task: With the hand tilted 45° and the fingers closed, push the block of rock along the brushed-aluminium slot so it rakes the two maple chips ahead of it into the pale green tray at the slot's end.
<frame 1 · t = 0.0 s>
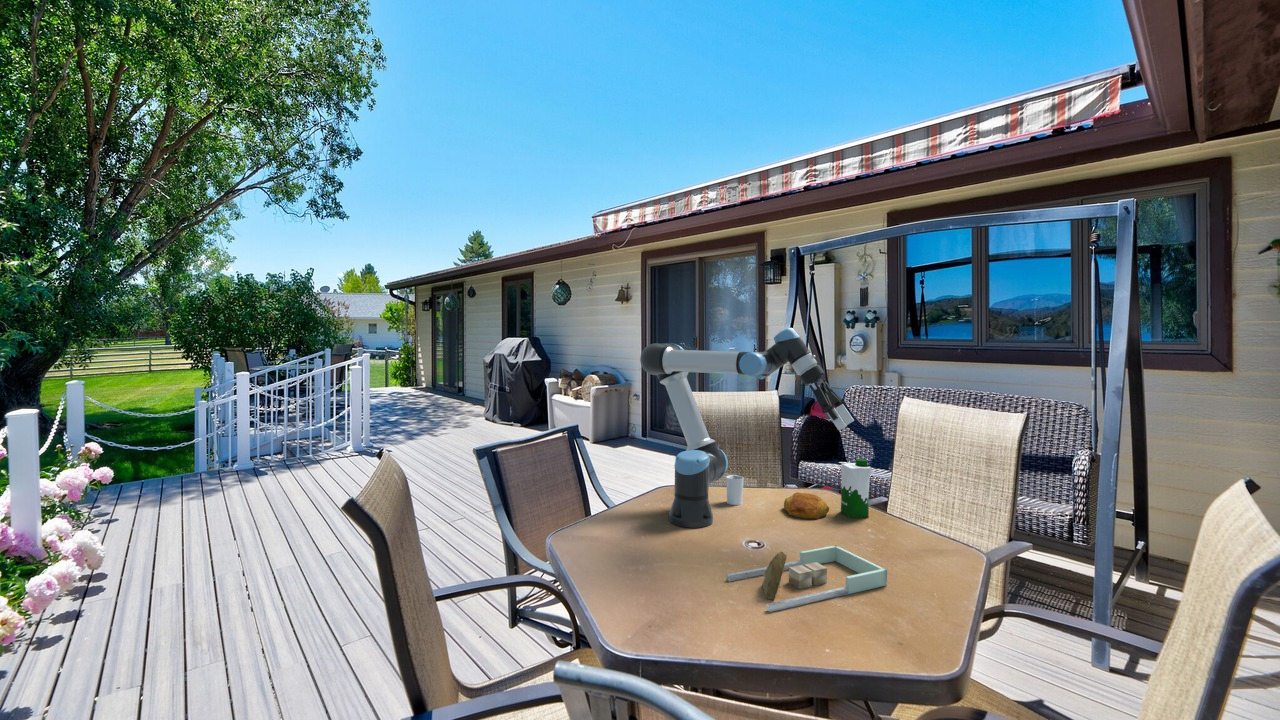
hand: (846, 425, 174), 36 cm above the table, tool tilted 35°, fingers open, 13 cm apart
tray pen: (840, 575, 146), on the table
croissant: (804, 514, 198), on the table
slot rails: (786, 586, 138), on the table
milk carton: (854, 515, 198), on the table
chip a: (800, 584, 140), on the table
rock: (769, 591, 136), on the table
chip b: (815, 581, 142), on the table
drinking glass: (734, 503, 209), on the table
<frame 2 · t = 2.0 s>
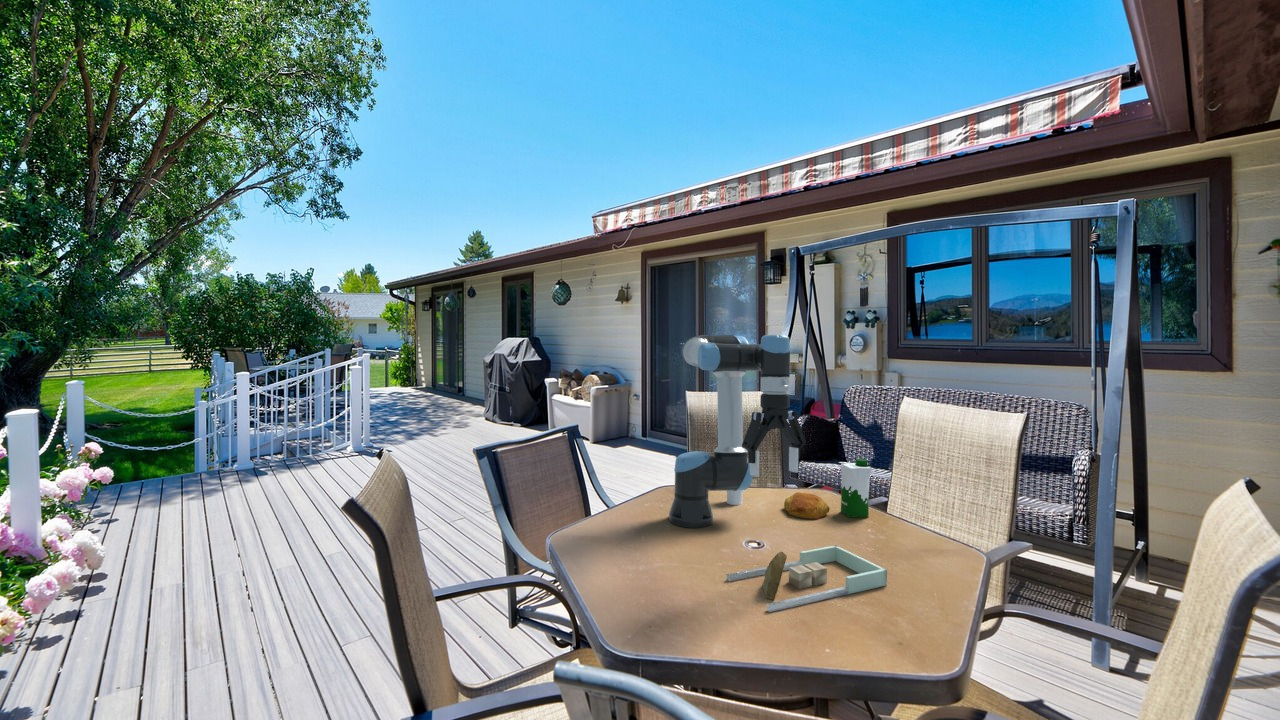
hand: (774, 473, 144), 27 cm above the table, tool pointing down, fingers open, 13 cm apart
nothing on the table moved.
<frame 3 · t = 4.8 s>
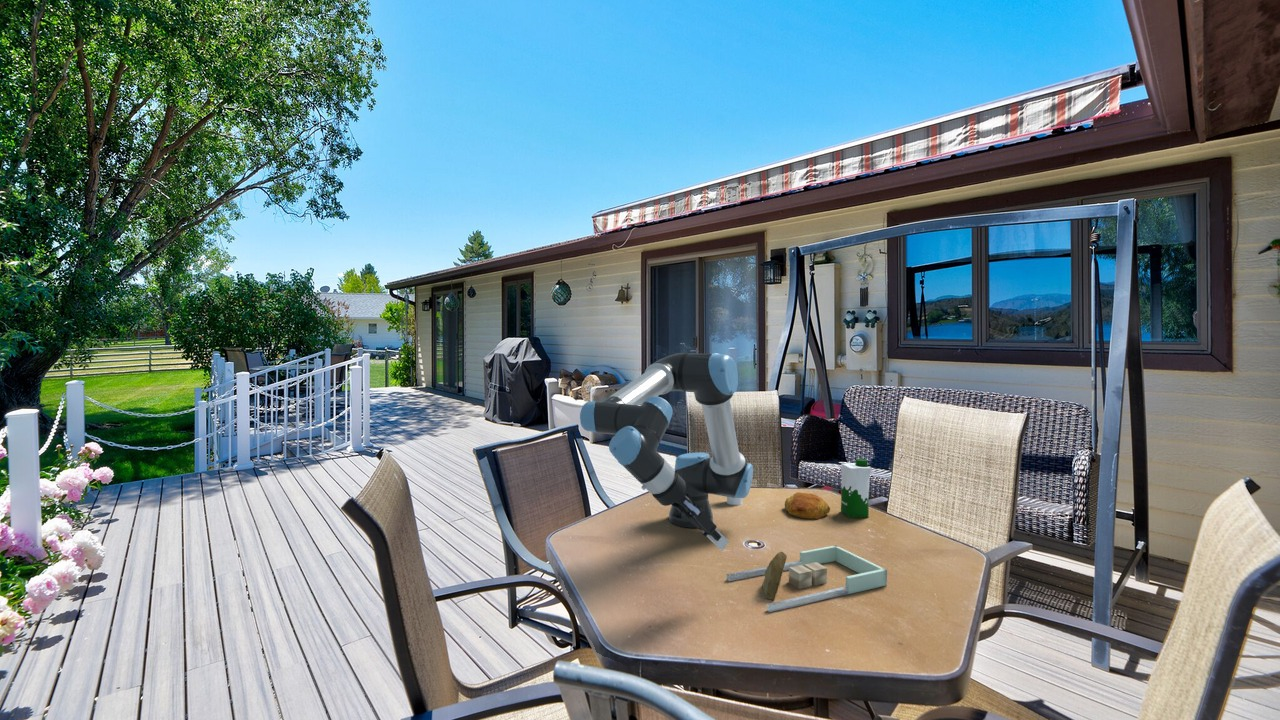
hand: (724, 545, 130), 13 cm above the table, tool tilted 45°, fingers closed
nothing on the table moved.
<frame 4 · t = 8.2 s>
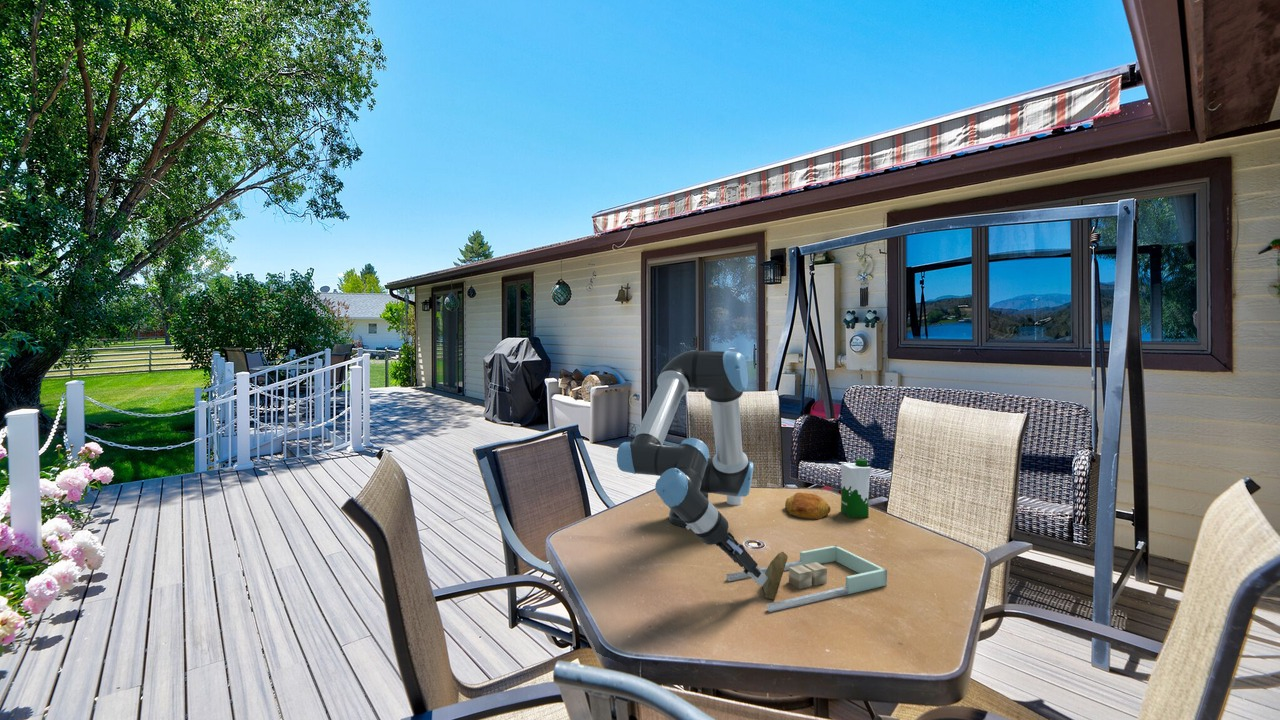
hand: (763, 581, 134), 3 cm above the table, tool tilted 45°, fingers closed
rock: (770, 591, 136), on the table, touching gripper
everything else where it was.
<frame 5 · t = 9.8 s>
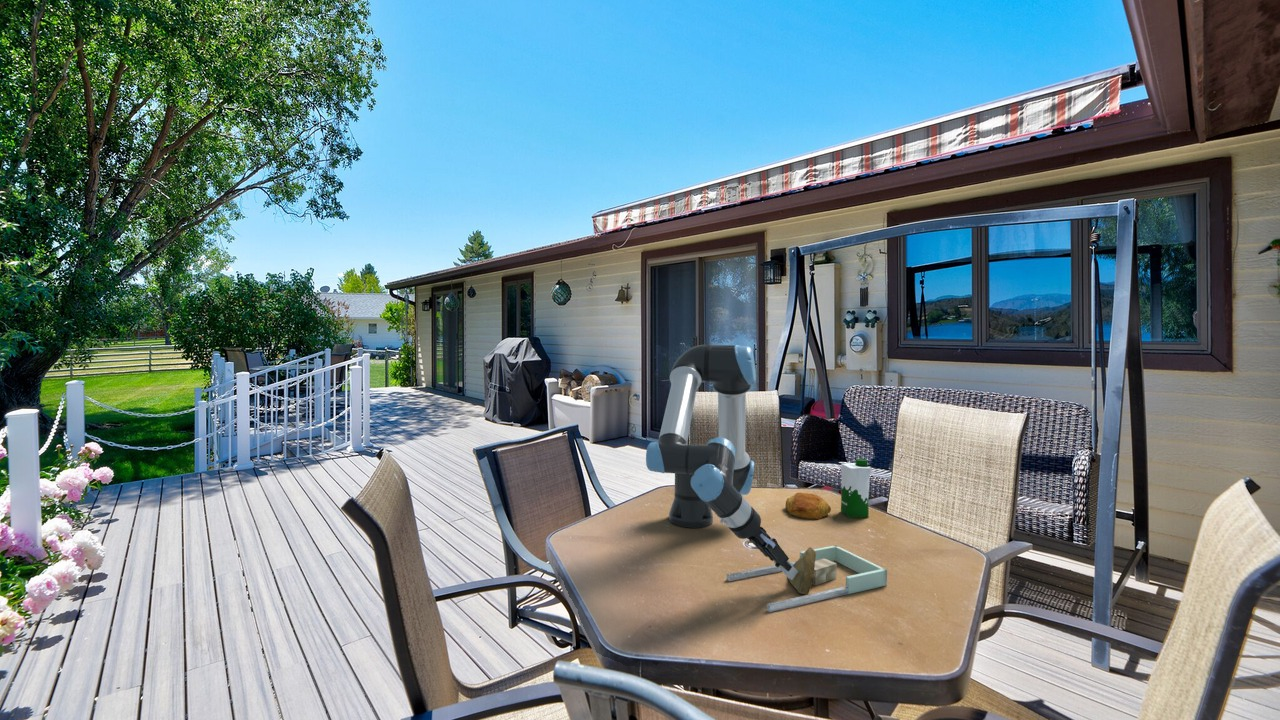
hand: (793, 574, 138), 3 cm above the table, tool tilted 45°, fingers closed
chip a: (814, 580, 143), on the table, touching rock
rock: (798, 586, 139), on the table, touching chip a, gripper
chip b: (824, 577, 145), on the table
everything else where it was.
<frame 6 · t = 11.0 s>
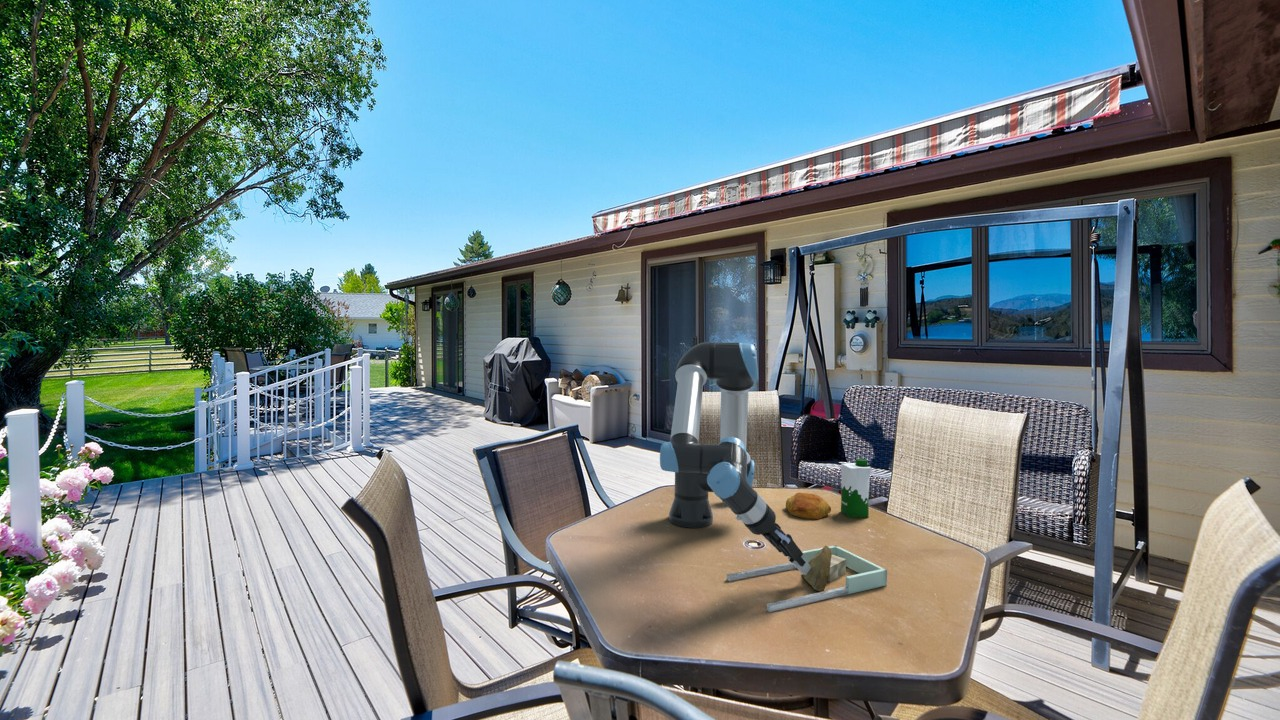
hand: (806, 569, 140), 4 cm above the table, tool tilted 45°, fingers closed
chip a: (827, 577, 145), on the table
rock: (812, 583, 141), on the table
chip b: (834, 573, 147), on the table
everything else where it was.
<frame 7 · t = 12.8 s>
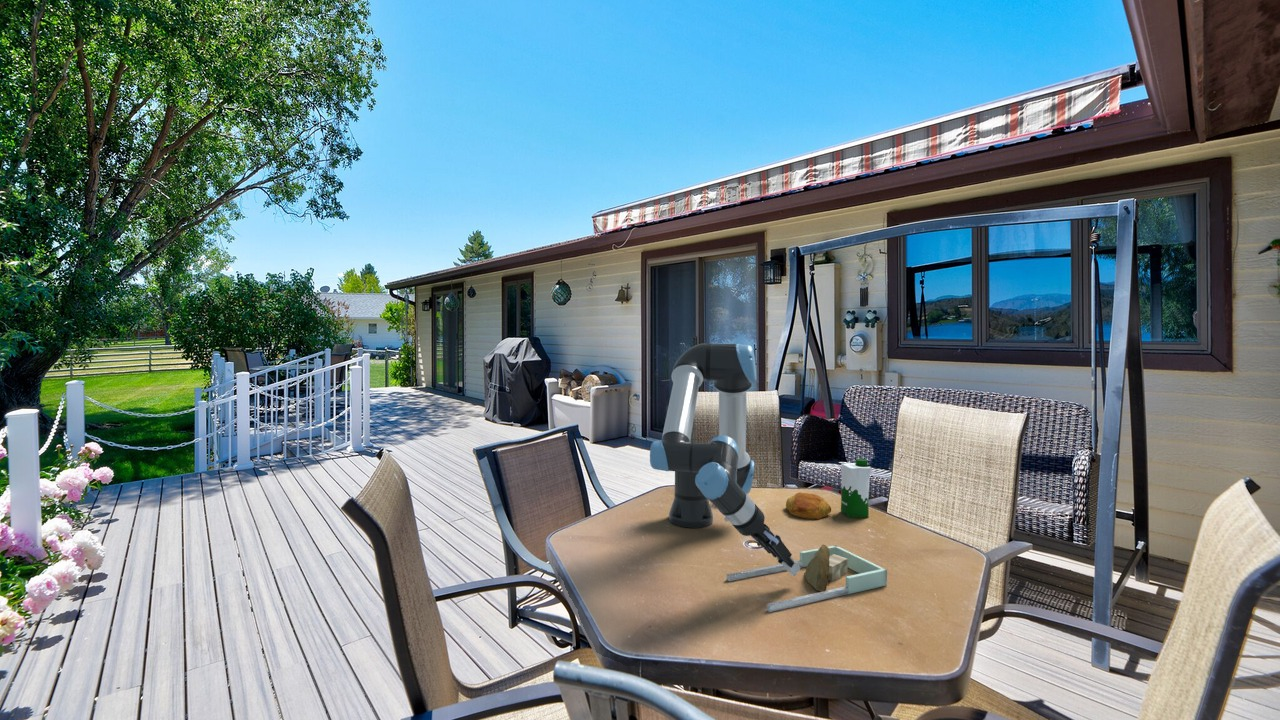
hand: (795, 570, 139), 4 cm above the table, tool tilted 45°, fingers closed
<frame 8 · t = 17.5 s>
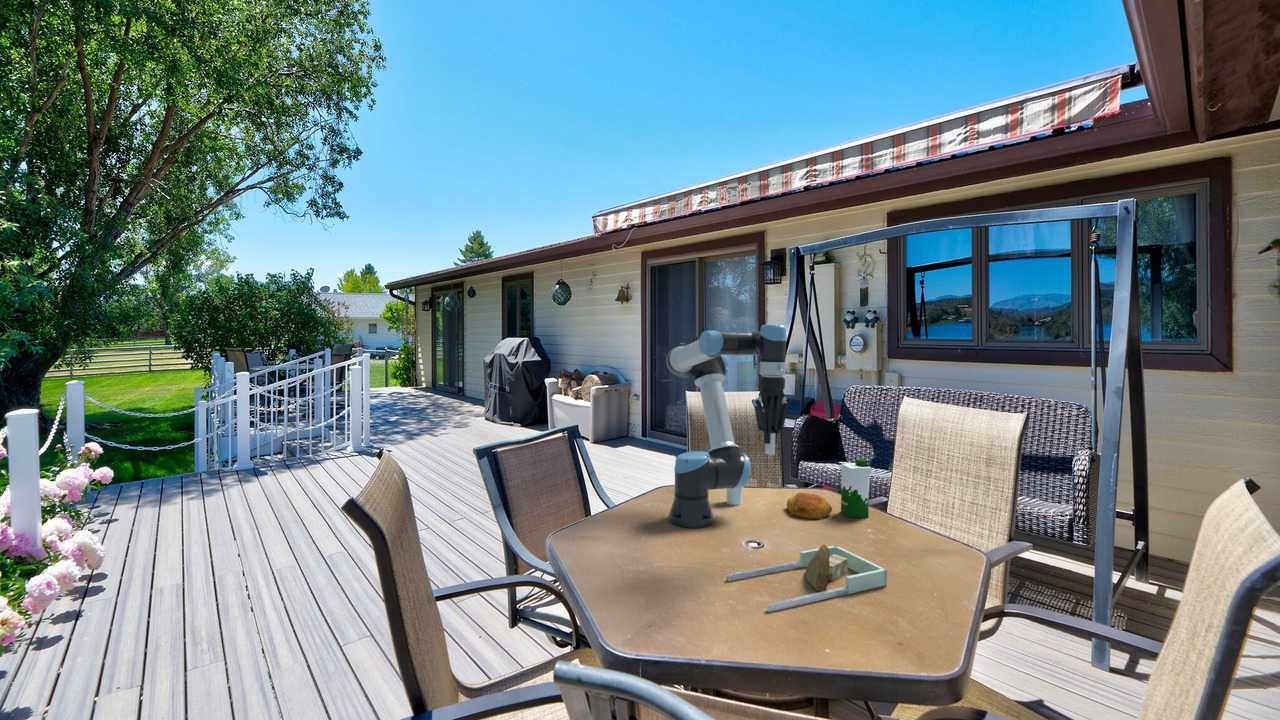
hand: (770, 454, 164), 28 cm above the table, tool pointing down, fingers closed
at the end: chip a 3.2 cm from the tray pen (horizontally); chip b 2.1 cm from the tray pen (horizontally); rock moved 13.7 cm from its start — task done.
